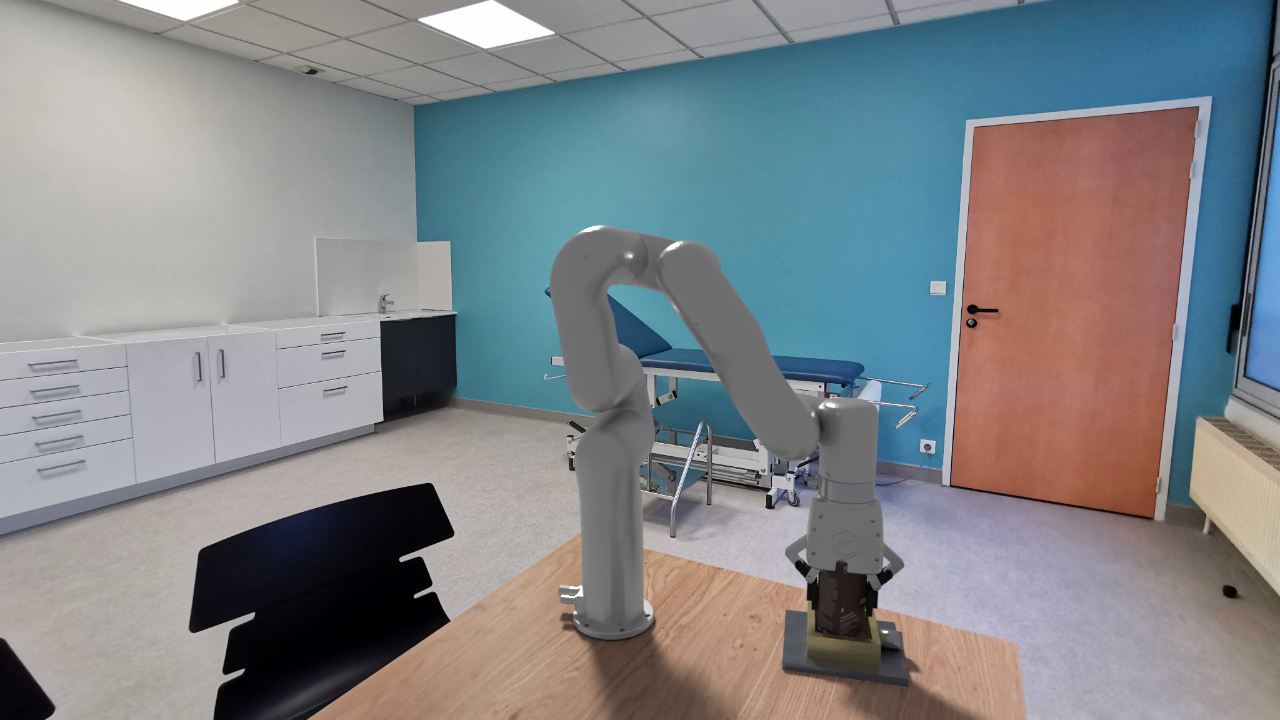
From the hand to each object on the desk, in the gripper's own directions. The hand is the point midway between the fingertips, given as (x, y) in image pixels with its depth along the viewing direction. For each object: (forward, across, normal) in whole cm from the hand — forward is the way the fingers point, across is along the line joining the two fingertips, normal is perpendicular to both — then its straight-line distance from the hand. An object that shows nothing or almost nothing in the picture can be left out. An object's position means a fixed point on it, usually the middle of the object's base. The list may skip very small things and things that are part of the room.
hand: (841, 607), depth 93 cm
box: (+4, 0, 0) cm, 4 cm away
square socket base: (+6, 0, 0) cm, 6 cm away
